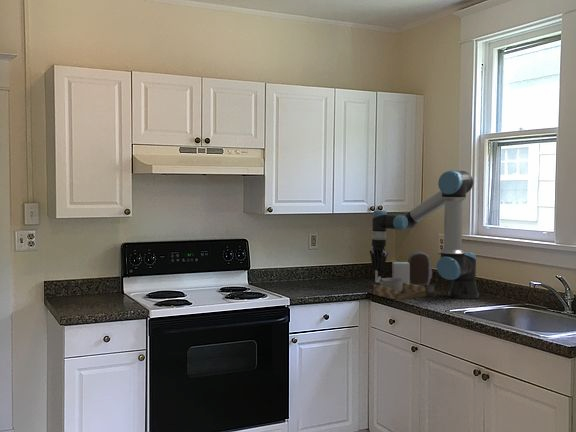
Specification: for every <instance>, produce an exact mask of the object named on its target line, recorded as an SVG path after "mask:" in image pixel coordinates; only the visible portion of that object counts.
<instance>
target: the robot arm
mask: <svg viewBox="0 0 576 432" xmlns="http://www.w3.org/2000/svg"><path fill="white" fill-rule="evenodd" d="M437 182H438V183H437V184H438V185H437V186H438V188H439V189H438V190H439V191H437V192H436V193H434V194H433V195H432V196H430V197H429V198H427V199H426V200H424V201H423V202H421V203H420V204H418V205H417V206H416V207H414V208H413V209H411V210H409V211H408V212H407V213H405V214H388V212H387V211H386V210H374V211H373V212H372V217H371V219H372V222H371V223H372V224H371V225H372V227H371V228H372V231H371V238H372V239H371V246H372V250H369V255H370V260H371V267H372V269H374V277H375V279H374V282H375V283H380V282H379V281H380V279H381V278H382V271H383V270H385V266H386V261H387V257H388V255H389V253H388V252H386V249H385V247H386V246H387V230H388V229H389V230H397V231H398V230H401V231H402V230H404V231H405V230H406V229H412V228H415V227H416V226H417V225H418V223H419V222H421V221H423V220H424V219H425V218H427V217H429V216H430V215H432V214H433V213H435V212H436V211H438V210H439V209H441V208H442V207H444V217H443V218H444V220H443V223H444V225H443V227H444V228H443V229H444V231H443V249H442V250H441V251H440V258H439V259H438V261H437V263H436V271H437V273H438V275H439V276H440V277H441V278H442V279H445V280H448V281H450V280H451V284H450V287H449V290H448V297H450V298H454V299H465V300H472V299H478V298H480V296H479V295H480V292H479V290H478V287H477V282H476V275H477V274H476V271H477V270H476V268H477V256H476V254H475V253H473V252H466V251H465V252H464V250H462V247H463V245H462V243H463V238H462V237H463V235H462V234H463V204H464V203H463V202H464V200H465V199H466V197H467V193H469V192H470V191H471V190H472V189H473V186H474V178H473V176H472V175H471V174H470V173H469V172H468V171H464V170H454V169H453V170H447V171H444V172H443V173H442V174H441V175H440V176H439V179H438V181H437Z"/></svg>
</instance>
